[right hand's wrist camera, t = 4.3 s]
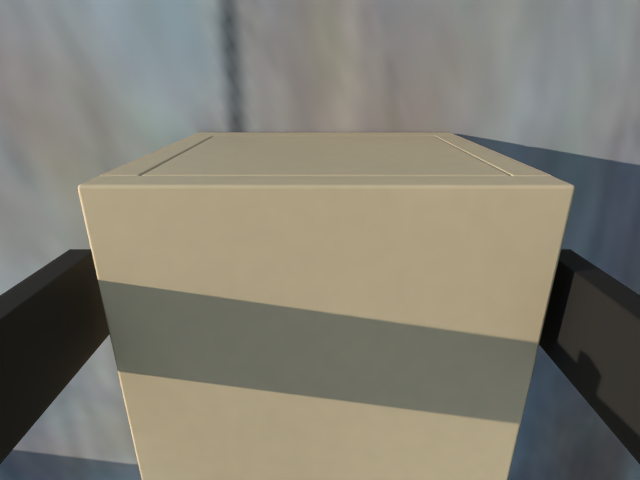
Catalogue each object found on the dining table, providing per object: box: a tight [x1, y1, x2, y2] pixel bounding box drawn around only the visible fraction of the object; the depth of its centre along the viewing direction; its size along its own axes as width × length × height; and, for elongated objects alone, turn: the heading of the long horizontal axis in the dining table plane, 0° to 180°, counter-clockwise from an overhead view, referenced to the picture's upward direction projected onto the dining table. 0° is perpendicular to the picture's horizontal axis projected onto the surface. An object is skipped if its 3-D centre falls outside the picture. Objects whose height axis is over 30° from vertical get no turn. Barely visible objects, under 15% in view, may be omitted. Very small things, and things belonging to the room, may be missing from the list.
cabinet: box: [78, 132, 575, 480], centre depth 18 cm, size 20×12×10 cm, turn 0°
